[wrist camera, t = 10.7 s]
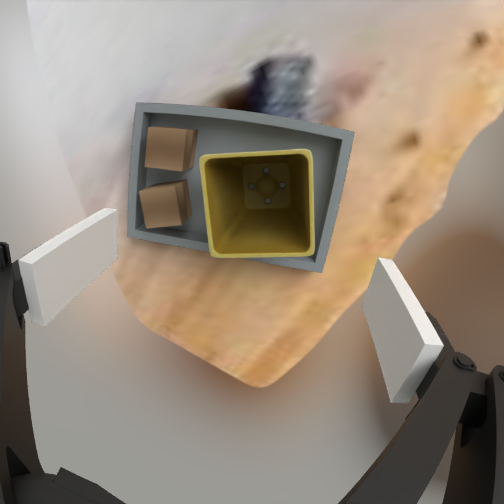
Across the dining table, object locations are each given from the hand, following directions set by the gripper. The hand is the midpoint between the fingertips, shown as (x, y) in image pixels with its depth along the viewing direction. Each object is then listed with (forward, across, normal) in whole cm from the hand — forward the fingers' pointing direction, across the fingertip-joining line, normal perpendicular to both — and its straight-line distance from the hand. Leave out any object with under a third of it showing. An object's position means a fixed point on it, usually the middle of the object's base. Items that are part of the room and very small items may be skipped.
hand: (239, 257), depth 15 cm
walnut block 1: (+19, -10, +3) cm, 22 cm away
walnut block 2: (+19, -10, -3) cm, 22 cm away
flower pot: (+20, 0, 0) cm, 20 cm away
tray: (+20, -4, 0) cm, 20 cm away
